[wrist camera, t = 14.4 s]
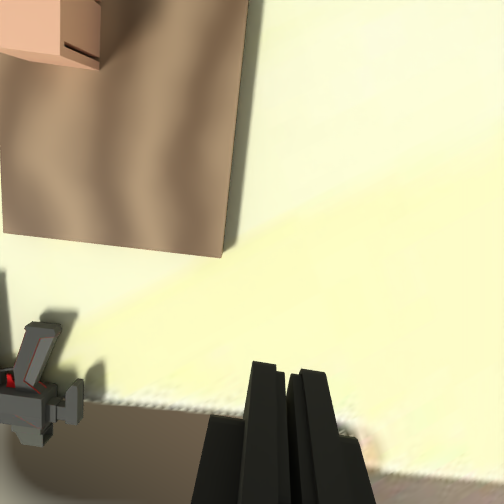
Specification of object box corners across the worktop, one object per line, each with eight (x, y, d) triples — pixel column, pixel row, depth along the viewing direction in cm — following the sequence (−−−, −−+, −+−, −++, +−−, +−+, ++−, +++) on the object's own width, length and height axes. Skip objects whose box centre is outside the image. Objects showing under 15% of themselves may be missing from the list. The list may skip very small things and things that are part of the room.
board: (249, -6, 32) (249, -12, 30) (222, 253, 37) (221, 258, 36) (3, -38, 31) (-9, -46, 30) (13, 228, 37) (3, 232, 35)
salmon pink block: (101, -8, 30) (60, -45, 24) (99, 70, 32) (59, 55, 25) (27, -19, 30) (-34, -59, 24) (28, 61, 31) (-29, 43, 25)
